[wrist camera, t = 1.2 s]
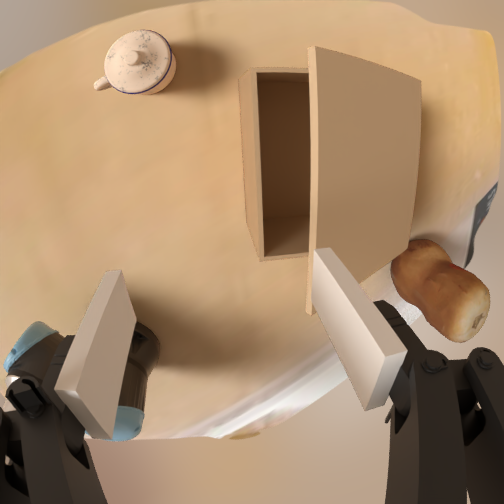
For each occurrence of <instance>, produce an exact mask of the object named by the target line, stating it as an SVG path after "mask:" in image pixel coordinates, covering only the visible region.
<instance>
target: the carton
mask: <svg viewBox="0 0 504 504" xmlns="http://www.w3.org/2000/svg"><path fill="white" fill-rule="evenodd" d="M238 81H239V99H240V117H241V135H242V152H243V170H244V187H245V204H246V221H247V225H248V228H249V231H250V234H251V237H252V240H253V243H254V246H255V249H256V252H257V255H258V258H259V261H260V262H262V261H271V260H280V259H289V258H297V257H306V256H309V234H310V192H311V132H310V92H309V68H286V67H256V68H250V69H249V70H248V71H247V72H246V73H245V74H244V75H243V76H241V77H240V78H239V79H238Z"/></svg>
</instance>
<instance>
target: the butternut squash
mask: <svg viewBox="0 0 504 504" xmlns="http://www.w3.org/2000/svg"><path fill="white" fill-rule="evenodd" d="M390 271H391V278H392V280H393V283H394V285H395V288H396V290H397V292H398V293H399V295H400V296H401V297H402V298H403V299H404V300H405V301H406V302H408V303H410V304H412V305H415V306H416V307H418V308H419V309H420V310H421V312H422V313H423V315H424V316H425V318H426V320H427V322H429V323H430V325H431V326H433V327H434V328H435V329H436V330H438V331H439V332H440V333H441V334H442V335H443V336H445V337H446V338H447V339H449V340H451V341H454V342H459V343H462V342H466V341H468V340H469V339H471V338H472V337H474V336H475V335H476V334H477V333H478V332H479V330H480V329H481V328H482V326H483V324H484V323H485V320H486V318H487V315H488V311H489V308H490V294H489V290H488V288H487V287H486V286H485V285H484V284H483V282H482V281H481V280H480V279H478V278H477V277H476V276H475V275H474V274H472V273H471V272H468V271H466V270H464V269H462V268H461V267H459V266H456V265H454V264H453V263H452V261H451V259H450V257H449V256H448V255H447V253H446V252H445V250H444V249H443V248H442V247H440V246H439V245H438V244H436V243H434V242H433V241H430V240H426V239H421V240H414V241H410V242H409V243H408V248H407V249H406V250H405V251H404V252H402V253H401V254H400V255H398V256H397V257H396V258H394V259H393V260H392V263H391V270H390Z"/></svg>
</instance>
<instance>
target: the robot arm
mask: <svg viewBox="0 0 504 504" xmlns="http://www.w3.org/2000/svg"><path fill="white" fill-rule="evenodd" d="M311 302H312V304H313V305H314V307H315V309H316V311H317V313H318V315H319V317H320V319H321V321H322V323H323V326H324V328H325V330H326V332H327V334H328V336H329V338H330V340H331V342H332V344H333V346H334V348H335V350H336V352H337V354H338V356H339V358H340V360H341V362H342V364H343V366H344V368H345V371H346V373H347V375H348V377H349V379H350V381H351V383H352V385H353V387H354V389H355V391H356V394H357V396H358V398H359V400H360V402H361V404H362V406H363V409H364V411H367V410H370V409H374V408H376V407H380V406H383V405H384V404H385V402H386V400H387V398H388V396H390V398H391V399H392V401H393V406H392V408H391V409H390V411H389V413H388V415H387V417H386V420H385V423H388V422H389V420H390V418H391V426H390V452H389V468H388V479H387V490H386V499H385V504H467V490H468V494H469V498H470V502H471V504H504V365H503V364H502V362H501V361H500V359H499V357H498V356H497V355H496V354H495V353H494V352H493V351H491V350H490V349H487V348H483V347H480V348H475V349H473V350H472V352H471V353H470V355H469V356H468V358H467V359H461V360H448V359H447V358H446V357H445V356H444V355H443V354H441V353H439V352H438V351H433V350H427V349H426V347H425V346H424V345H423V343H422V342H421V341H420V339H419V338H418V337H417V336H416V334H415V333H414V332H413V330H412V329H411V328H410V326H409V325H407V324H406V321H405V320H404V319H403V318H402V317H401V315H400V314H399V313H398V311H397V310H396V309H395V308H394V307H393V306H392V305H390V304H389V303H387V302H386V301H384V300H381V301H376V302H372V301H371V299H370V298H369V297H368V295H367V294H366V293H365V291H364V290H363V289H362V287H361V286H360V285H359V283H358V282H357V281H356V280H355V278H354V277H353V276H352V274H351V273H350V272H349V271H348V269H347V268H346V267H345V265H344V264H343V263H342V262H341V260H340V259H339V258H338V257H337V255H336V254H335V253H334V252H333V250H332V249H331V248H330V247H329V248H320V249H314V257H313V275H312V291H311ZM136 320H137V319H136V316H135V313H134V310H133V307H132V303H131V300H130V297H129V294H128V290H127V287H126V284H125V280H124V277H123V273H122V270H114V271H106V272H105V274H104V276H103V278H102V280H101V282H100V284H99V286H98V288H97V290H96V292H95V294H94V296H93V298H92V300H91V302H90V304H89V307H88V309H87V311H86V313H85V315H84V317H83V319H82V322H81V324H80V326H79V328H78V331H77V333H76V335H67V336H66V337H65V338H64V337H63V336H62V335H60V334H59V332H58V331H57V330H53V329H52V328H50V327H49V326H48V325H46V324H45V323H43V322H40V321H38V322H34V323H33V324H31V325H30V326H29V327H28V328H27V330H26V331H25V332H24V333H23V334H22V336H21V337H20V338H19V339H18V341H17V342H16V344H15V345H14V347H13V349H12V350H11V352H10V353H9V354H8V356H7V358H6V360H5V362H4V365H3V366H4V369H5V370H6V372H8V375H7V377H6V379H5V382H6V385H7V388H8V389H7V391H6V396H5V397H6V398H7V399H6V402H5V404H4V406H3V409H2V408H1V407H0V504H108V503H107V500H106V498H105V495H104V493H103V490H102V487H101V484H100V482H99V479H98V476H97V473H96V470H95V467H94V463H93V460H92V457H91V454H90V451H89V447H88V445H87V443H86V441H85V440H84V434H85V433H86V434H88V435H90V436H91V437H92V438H94V439H102V440H107V441H126V440H130V439H133V438H134V437H136V436H137V435H138V434H139V433H140V431H141V428H142V423H143V419H144V407H145V398H146V389H147V380H148V377H149V375H150V374H151V372H152V370H153V369H154V367H155V365H156V364H157V362H158V359H159V352H160V346H159V342H158V340H157V338H156V336H155V335H154V334H153V333H152V332H151V331H150V330H149V329H148V328H147V327H145V326H144V325H142V324H140V323H138V322H136ZM478 402H479V404H480V406H481V409H480V408H479V407H478V405H477V403H478Z"/></svg>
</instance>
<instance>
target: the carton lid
mask: <svg viewBox="0 0 504 504" xmlns="http://www.w3.org/2000/svg"><path fill="white" fill-rule="evenodd" d="M307 49H308V68H309V92H310V132H311V192H310V234H309V260H308V280H307V298H306V313H308V314H309V315H311V316H312V315H313V314H315V313H316V312H317V311H316V309H315V307H314V305H313V304H312V302H311V291H312V275H313V257H314V249H320V248H329V247H330V248H331V249H332V250H333V252H334V253H335V254H336V255H337V257H338V258H339V259H340V260H341V262H342V263H343V264H344V265H345V267H346V268H347V269H348V271H349V272H350V273H351V274H352V276H353V277H354V278H355V280H356V281H357V282H358V283H359V284H360V283H361V282H362V281H364V280H365V279H367V278H368V277H369V276H371V275H372V274H374V273H375V272H376V271H378V270H379V269H381V268H382V267H383V266H385V265H386V264H387V263H389V262H390V261H392V260H393V259H394V258H396V257H397V256H398V255H400V254H401V253H402V252H404V251H405V250H406V249H407V248H408V243H409V237H410V231H411V225H412V218H413V211H414V204H415V196H416V188H417V178H418V167H419V155H420V138H421V80H418V79H416V78H413V77H411V76H409V75H406V74H403V73H401V72H398V71H396V70H393V69H390V68H387V67H385V66H382V65H379V64H376V63H373V62H370V61H367V60H364V59H360V58H357V57H354V56H350V55H347V54H343V53H340V52H336V51H332V50H328V49H324V48H320V47H316V46H314V47H307Z"/></svg>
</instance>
